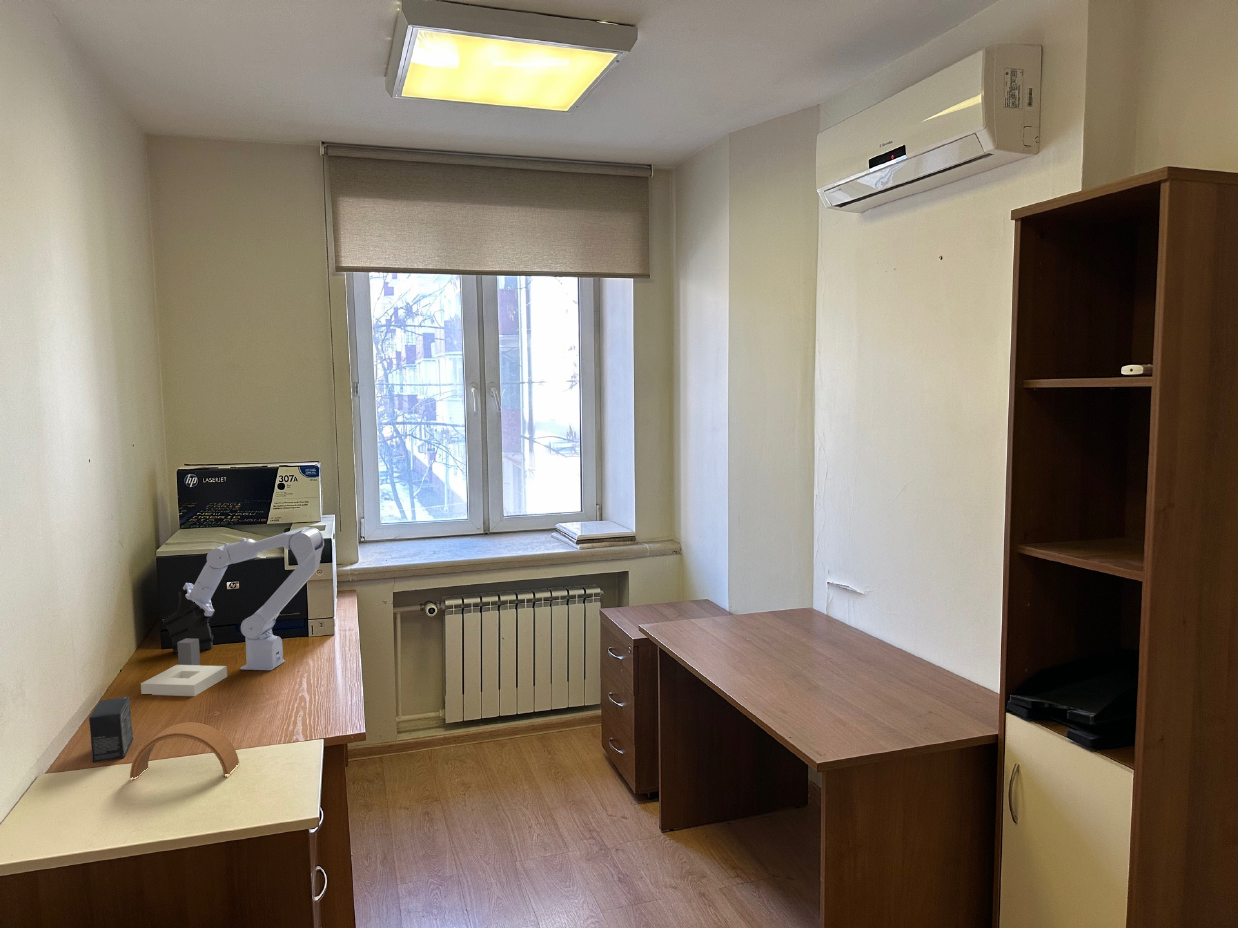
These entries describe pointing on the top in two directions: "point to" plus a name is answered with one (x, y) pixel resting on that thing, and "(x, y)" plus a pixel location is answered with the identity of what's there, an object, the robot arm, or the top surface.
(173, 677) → the socket
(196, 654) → the plug
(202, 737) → the brown half-ring arch
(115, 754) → the small box
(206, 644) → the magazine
